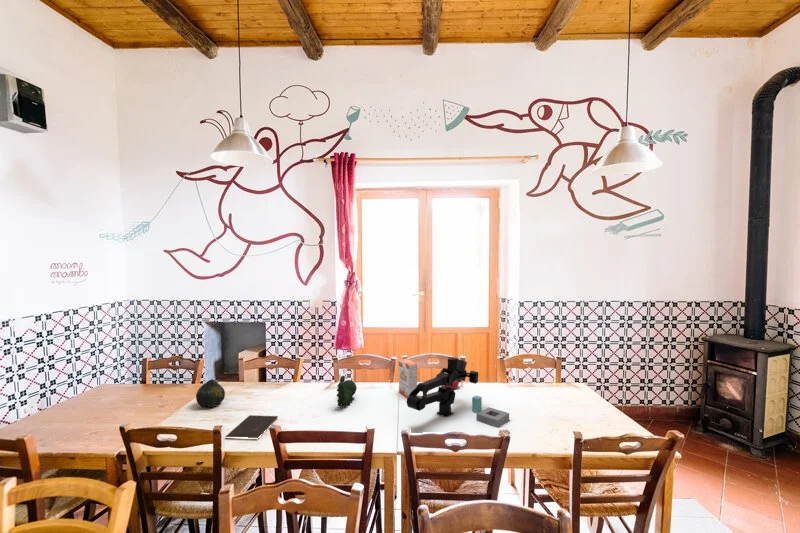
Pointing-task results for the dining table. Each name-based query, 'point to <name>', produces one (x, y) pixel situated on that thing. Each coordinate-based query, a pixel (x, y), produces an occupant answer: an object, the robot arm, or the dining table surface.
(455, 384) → the pomegranate
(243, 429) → the hardcover book
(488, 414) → the socket block
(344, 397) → the toy figurine
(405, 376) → the cracker box
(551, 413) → the dining table surface
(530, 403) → the dining table surface
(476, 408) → the teal rectangular block
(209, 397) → the squash
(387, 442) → the dining table surface
